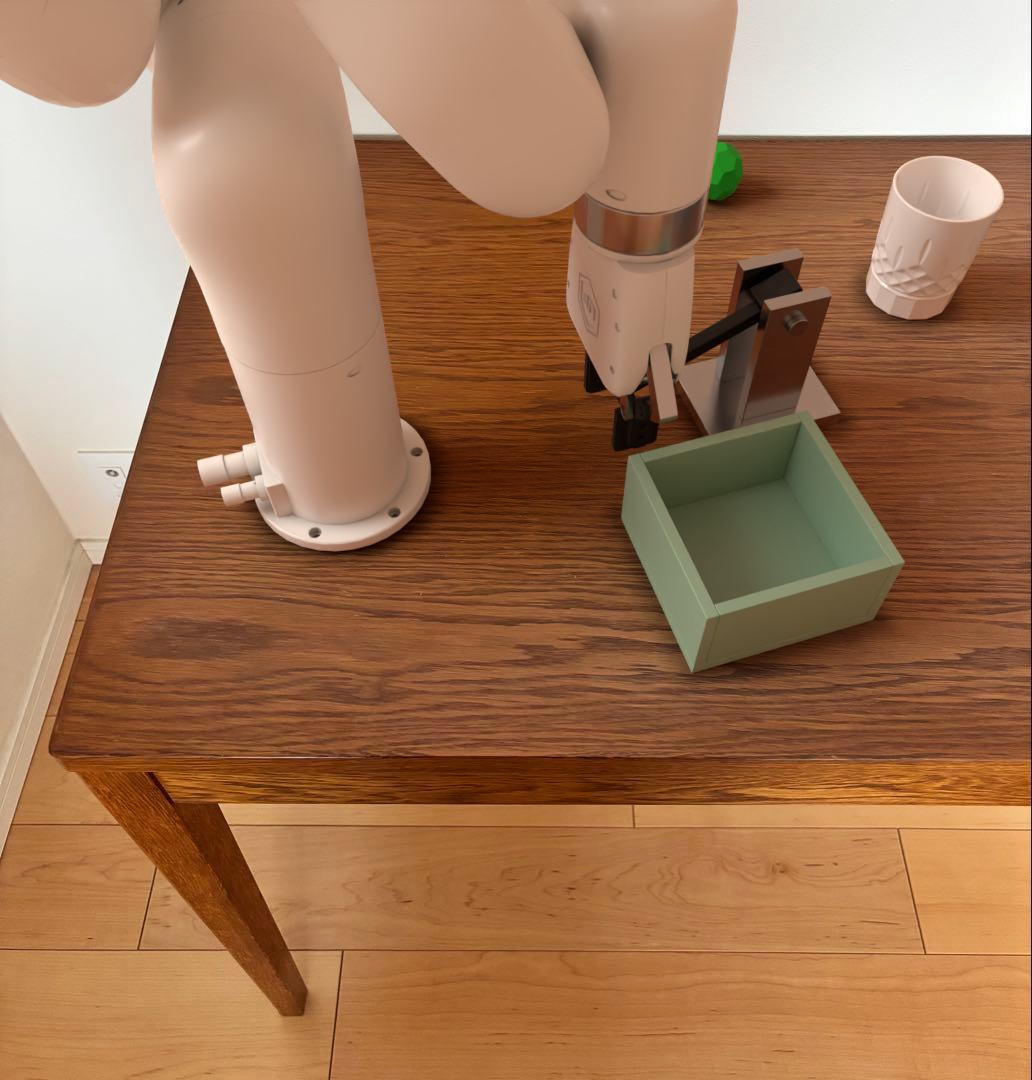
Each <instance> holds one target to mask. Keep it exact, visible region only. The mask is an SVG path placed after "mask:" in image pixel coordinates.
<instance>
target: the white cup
mask: <svg viewBox="0 0 1032 1080" xmlns="http://www.w3.org/2000/svg"><path fill="white" fill-rule="evenodd" d="M1004 200H1005V193H1004V189H1003V187H1002V185H1001V183H1000V181H999V180H998V179H997V178H996V176H994V175H993V174H992V173H991V172H989V170H987V169H985V168H983V167H982V166H981V165H978V164H977V163H973V162H971V161H969V160H965V159H962V158H958V157H955V156H954V157H953V156H948V155H947V156H945V155H929V156H928V155H927V156H921V157H917V158H913V159H911V160H909V161H907V162H905V163H904V164H902V165H901V166H899V168H898V169H897V170H896V171H895V172H894V175H893V179H892V182H891V186H890V189H889V192H888V196H887V199H886V203H885V207H884V210H883V213H882V217H881V220H880V224H879V227H878V231H877V234H876V239H875V244H874V246H873V249H872V255H871V261H870V266H869V268H868V272H867V274H866V279H865V294H866V295H867V296H868V298H869V299H870V301H871V303H872V304H873V305H874V306H875V307H877V308H878V309H880V310H881V311H882V312H885V313H886V314H887V315H890V316H894V317H896V318H901V319H905V320H928V319H930V318H933V317H935V316H937V315H940V314H942V313H943V311H944V310H945V309H946V307H947V306H948V305H949V304H950V302H951V301H952V298H953V296H954V295H955V292H956V290H957V288H958V286H959V285H960V284H961V283H962V281H963V280H964V278H965V276H966V274H967V273H968V271H969V269H970V267H971V266H972V263H973V262H974V260H975V258H976V256H977V254H978V252H979V250H980V248H981V247H982V244H983V242H984V240H985V239H986V236H987V234H988V233H989V231H990V229H991V227H992V225H993V223H994V221H995V219H996V217H997V215H998V213H999V211H1000V210H1001V208H1002V206H1003V204H1004Z"/></svg>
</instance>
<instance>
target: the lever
mask: <svg viewBox="0 0 1032 1080" xmlns="http://www.w3.org/2000/svg"><path fill="white" fill-rule="evenodd" d="M801 291H804V289H803V287H802V286H801V283H799V280H798V281H797V280H796V278H795V277H794V276H793V274H792V273H791V271H790V270H789V268H788V267H786V268H784V269H783V270H781V271H779V272H777V273H776V274H774V275H772V276H770V277H769V278H767V279H765V280H763V281H762V282H760V283H758V284H756V285H755V286H753V287H751V288H750V292H751V294H752V297H753V300H754V301H753V302H751V303H750V304H748V305H746V306H744V307H743V308H741V309H739V310H737V311H736V312H734V313H732V314H730V315H729V316H727V315H726V316H725V317H723V318H722V319H720V320H718V321H716V322H715V323H713V324H711V325H709V326H707V327H705V328H704V329H702V330H701V331H699V332H697V333H696V334H693V335H692V336H689V343H688V350H687V355H686V360H685V364H684V366H685V365H687V364H688V363H690V362H691V361H693V360H695V359H697V358H699V357H701V356H703V355H704V354H706V353H708V352H709V351H711V350H712V349H713V350H714V348H716V347H718V346H720V345H721V344H722V343H723V342H725V341H727V340H729V339H730V338H732V337H734V336H736V335H738V334H739V333H741V332H743V331H745V330H746V329H748V328H750V327H752V326H753V325H755V324H757V323H759V319H760V315H761V311H762V306H763V302H764V300H767V299H772V298H776V297H780V296H784V295H789V294H793V293H797V292H801ZM646 387H648V384H645V385H641V386H638V387H637V388H636V390H635V391H634V392H633V399H636V398H637V396H636V395H635V394H636V393H637V392H639V391H641V390H642V389H645V388H646ZM615 397H616V400H617V402H618V403H619V405H620V397H617V396H615Z"/></svg>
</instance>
